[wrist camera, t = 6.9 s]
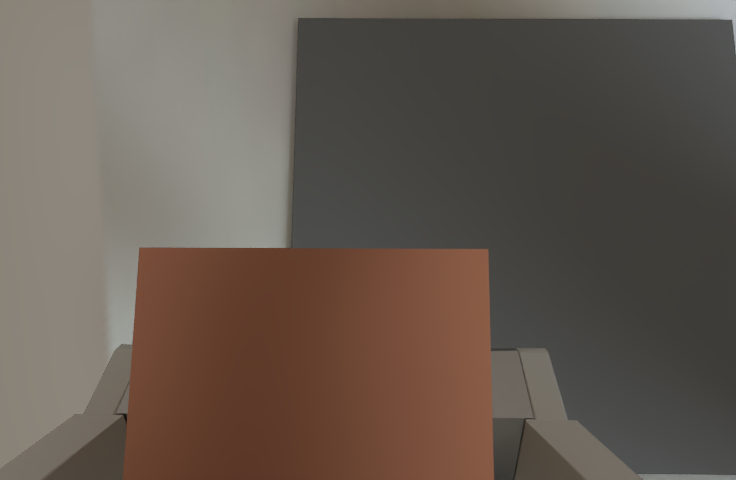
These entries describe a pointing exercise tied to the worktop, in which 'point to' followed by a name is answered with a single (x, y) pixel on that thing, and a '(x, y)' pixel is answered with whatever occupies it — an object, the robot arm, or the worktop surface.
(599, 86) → the charcoal mat
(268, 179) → the worktop surface
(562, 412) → the robot arm
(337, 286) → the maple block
